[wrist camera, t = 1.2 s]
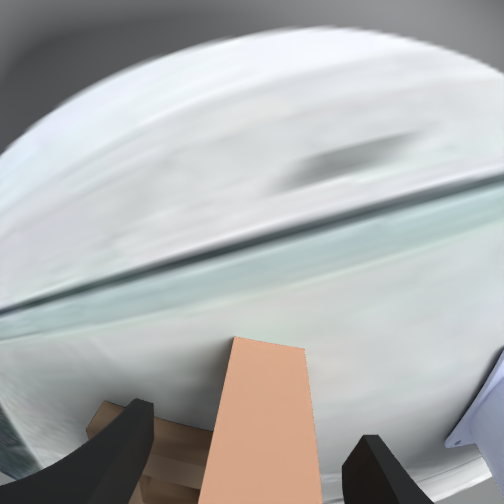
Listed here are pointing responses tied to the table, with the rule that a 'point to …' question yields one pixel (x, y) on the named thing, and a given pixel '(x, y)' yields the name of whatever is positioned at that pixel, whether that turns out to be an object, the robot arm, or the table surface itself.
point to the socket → (165, 460)
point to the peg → (264, 430)
